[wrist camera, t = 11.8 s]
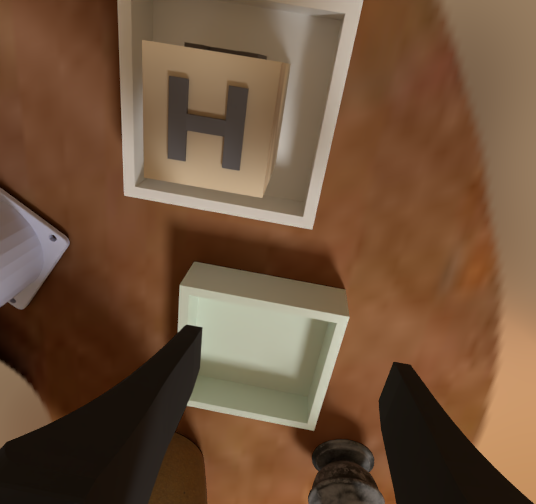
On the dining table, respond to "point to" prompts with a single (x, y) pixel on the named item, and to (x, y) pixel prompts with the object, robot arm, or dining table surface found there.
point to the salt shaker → (344, 474)
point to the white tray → (276, 49)
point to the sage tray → (262, 342)
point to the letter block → (211, 116)
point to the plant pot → (180, 475)
